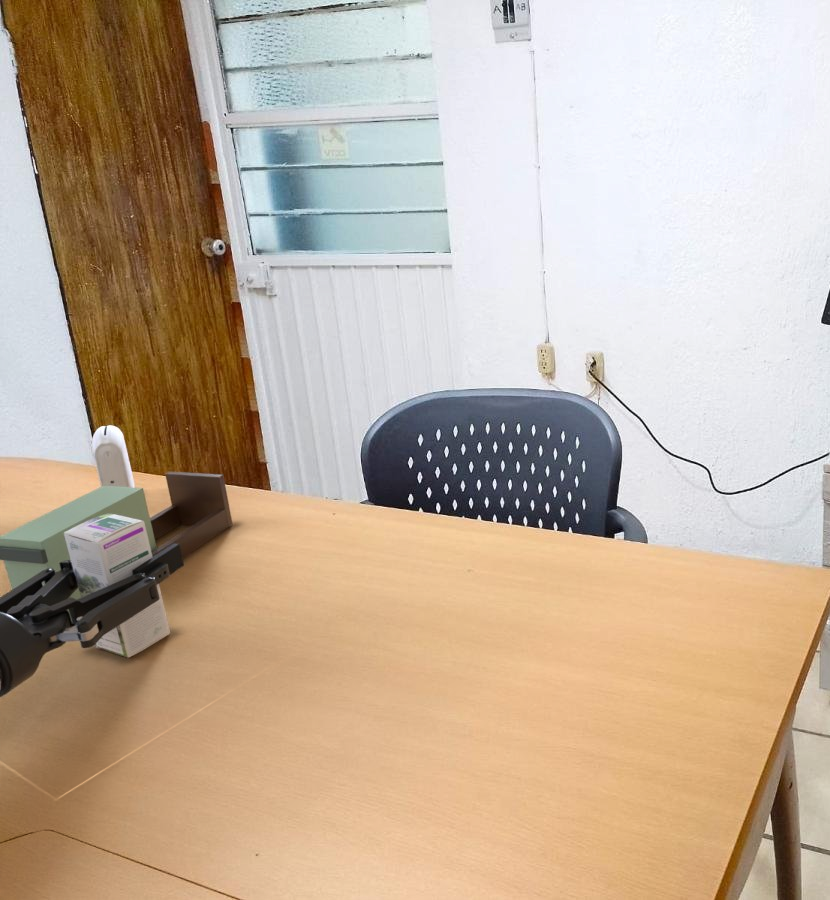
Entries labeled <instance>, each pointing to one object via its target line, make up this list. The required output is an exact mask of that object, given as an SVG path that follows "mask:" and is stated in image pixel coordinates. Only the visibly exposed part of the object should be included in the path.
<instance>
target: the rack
mask: <svg viewBox="0 0 830 900" xmlns="http://www.w3.org/2000/svg"><path fill="white" fill-rule="evenodd" d="M164 476H165V480H166V484H167V485H166V486H167V490H168V493H169V499H170V503H171V505H170V506H168V507H166V508H164V509H163V510H161V511H159V512H158V513H156V514H154V515H152V516H150V521H151V525H152V530H153V534H154V538H155V541H156V540H157V539H159V538H161V537H162V536H164V535H166V534H167V533H169V532H170V531H172V530H174V529H175V528H177V527H179V526H180V525H191V526H189V527H188V528H186V529H185V530H183V531H182V532H180V533H178V534H176V535H175V536H174V537H173V536H172V538H170V539H168V540H167V541H166V542H164V543H162V544H161V545H159V546H158V547H157V548H156V549H154V550H153V551H151V553H152V557H154V556H155V555H157V554H158V553H160V552H162V551H163V550H165V549H166V548H168V547H169V546H171V545H172V544H179V545H180V549H181V554H182V559H183V560H184V558H185V557H187V556H189V555H190V554H192V553H193V552H194V551H196V550H197V549H199V548H200V547H202V546H204V545H205V544H206V543H208V542H209V541H211V540H212V539H214V538H216V537H217V536H218V535H220V534H221V533H222V532H224V531H226V530H227V529H229V528H230V527H232V526H233V525H234V524H233V518H232V513H231V508H230V503H229V499H228V493H227V487H226V482H225V477H224V474H218V473H217V474H216V473H201V472H199V473H198V472H183V471H167V472H166V473H165V474H164Z"/></svg>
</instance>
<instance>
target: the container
mask: <svg viewBox="0 0 830 900" xmlns="http://www.w3.org/2000/svg"><path fill="white" fill-rule="evenodd" d="M108 513H111V514H115V515H120V516H124V517H129V518H133V519H137V520H142V521H144V523H145V527H146V531H147V535H148V540H149V544H150V548H151V551H153V550H154V549H156V548H158V547H157V544H156V540H155V538H154V534H153V530H152V525H151V521H150V518H151V516H150V512H149V508H148V504H147V500H146V495H145V491H144V487H135V488H134V487H119V486H102V487H101V486H100V487H98V488H96V489H94V490H91V491H90V492H88V493H85V494H83V495H81V496H79V497H77V498H75V499H73V500H71V501H69V502H67V503H65V504H63V505H61V506H59V507H57V508H55V509H53V510H51V511H49V512H47V513H45V514H43V515H41V516H39V517H37V518H35V519H32V520H30V521H28V522H27V523H24V524H22V525H20V526H18V527H17V528H14V529H12V530H10V531H8V532H6V533H4V534H2V535H0V561H3V564H4V568H5V571H6V574H7V578H8V581H9V585H10V588H11V590H13V589H14V588H16V587H17V586H19V585H21V584H22V583H24V582H25V581H27V580H29V579H30V578H32V577H33V576H35V575H36V574H38V573H40V572H41V571H43V570H45V569H47V568H54V569H55V572H59V571H60V570H61V568H60V564H59V563H60V562H62V561H66V560H70V561H71V559H70V555H69V551H68V547H67V544H66V540H65V536H64V532H66V531H68V530H70V529H72V528H74V527H76V526H78V525H80V524H82V523H84V522H86V521H88V520H91V519H93V518H96V517H99V516H102V515H105V514H108ZM42 585H43V586H44V585H45V583H44V581H43V582H42ZM69 598H74V599H76V600H77V599H80V598H81V595H80V592H79V588H78V589H77V590H76V591H75V592H74V593H73V594H72V595H71V596H70V597H69ZM67 611H68V612H69V609H68V610H67ZM69 614H70V612H69ZM70 618H71V616H70ZM71 622H72V619H71Z"/></svg>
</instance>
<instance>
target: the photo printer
mask: <svg viewBox="0 0 830 900" xmlns="http://www.w3.org/2000/svg"><path fill="white" fill-rule="evenodd" d="M91 451H92V456H93V460H94V463H95V468H96V472H97V476H98V480H99V484H100V487H102V486H119V487H134V488H136V485H135V479H134V475H133V471H132V467H131V463H130V458H129V454H128V449H127V445H126V441H125V437H124V433H123V432H122V431H121V429H120V428H119V427H117V426H115V425H111V424H108V425H107V426H106V425H102V426H100V427H98V428H97V429H96V430H95V432H94V433H93V436H92V440H91Z"/></svg>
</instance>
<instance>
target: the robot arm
mask: <svg viewBox="0 0 830 900" xmlns="http://www.w3.org/2000/svg"><path fill="white" fill-rule="evenodd" d="M59 564H60V568H61V570H60V571H59V572H55V569H54V568H47V569H45V570H43V571H41V572H40V573H38V574H36V575H35V576H33V577H32V578H30V579H29V580H27V581H25V582H24V583H22V584H21V585H19V586H17V587H16V588H14V589H13V590H12V589H11V590H9V591H8V592H6V593H4V594H3V595H1V596H0V698H2V697H4V696H5V695H7V694H8V693H10V692H11V691H13V690H15V688H17V687H18V686H20V685H22V684H23V683H25V682H26V681H27V680H28V679H30V678H31V677H33V675H35V673H36V671H38V668H39V666H40V663H41V661H42V659H43V657H44V655H46V654H47V653H49V652H51V651H53V650H56V649H59V648H61V647H63V646H64V645H65V644H66V643H67V642H80V646H81V648H82V649H89V648H92V647H94V645H95V644H96V643H97V642H98V641H99V640H100V639H101V637H102V636H103V635H105V634H106V633H108V632H109V631H111V630H112V629H114V628H116V627H117V626H119V625H120V624H122V623H124V622H125V621H127V620H128V619H130V618H131V617H133V616H135V615H136V614H138V613H139V612H141V611H142V610H144V609H146V608H147V607H149V606H150V605H152V604H153V603H155V602H157V601H158V600H159V599H160V598H159V593H158V589H157V585H158V584H159V585H160V584H161V583H162V582H163V581H165V580H166V579H168V578H169V577H170V576H171V575H172V574H174V573H175V572H176V571H178V570H180V569H181V568H183V567H184V566H185V565H184V558H183V559H182V554H181V549H180V545H179V544H172V545H171V546H169V547H168V548H166V549H165V550H163V551H162V552H160V553H158V554H157V555H155V556H154V557H152V558H151V559H149V560H148V561H146V562H144V563H143V564H141V565H140V566H138V567H137V568H135V569H133V570H132V572H133V575H132V576H130V577H128V578H125V579H123V580H121V581H118V582H116V583H114V584H112V585H109V586H107V587H105V588H102V589H100V590H98V591H96V592H93V593H91V594H89V595H86V596H84V597H82V598H80V599H77V600H76V599H74V598H69V597H70V596H71V595H72V594H73V593H74V592H75V591H76V590H77V589H78V584H77V581H76V577H75V573H74V570H73V566H72V562H71V561H70V560H66V561H62V562H60V563H59ZM43 581H44V583H45V585H44V586H43V585H42V582H43ZM68 609H69V612H70V614H69V612H68V611H67V610H68ZM70 616H71V618H70ZM71 619H72V622H71Z"/></svg>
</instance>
